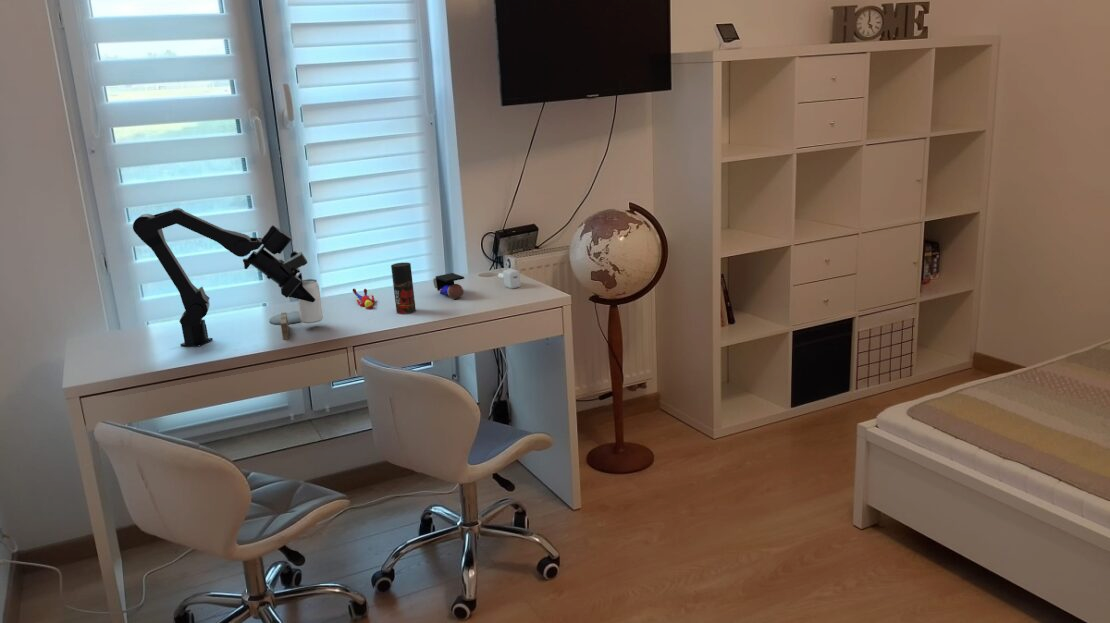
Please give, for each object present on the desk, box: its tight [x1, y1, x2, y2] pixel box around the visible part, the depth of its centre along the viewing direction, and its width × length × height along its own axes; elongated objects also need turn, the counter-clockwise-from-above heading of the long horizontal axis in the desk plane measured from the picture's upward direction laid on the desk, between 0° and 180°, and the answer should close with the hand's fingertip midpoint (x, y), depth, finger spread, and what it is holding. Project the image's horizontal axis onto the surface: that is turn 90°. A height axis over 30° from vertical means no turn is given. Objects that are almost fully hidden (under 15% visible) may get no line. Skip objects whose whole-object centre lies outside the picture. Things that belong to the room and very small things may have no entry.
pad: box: [268, 310, 303, 326], centre depth 266 cm, size 13×13×1 cm
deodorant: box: [390, 262, 416, 315], centre depth 263 cm, size 6×6×15 cm
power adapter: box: [495, 268, 521, 290], centre depth 289 cm, size 11×5×6 cm, turn 32°
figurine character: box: [432, 272, 465, 300], centre depth 281 cm, size 7×8×15 cm
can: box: [297, 278, 324, 324], centre depth 252 cm, size 6×6×12 cm
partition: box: [280, 311, 290, 340], centre depth 249 cm, size 14×2×4 cm, turn 17°
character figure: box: [352, 288, 375, 310], centre depth 280 cm, size 6×4×20 cm
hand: (314, 298), depth 252 cm, fingers closed on can, 6 cm apart
